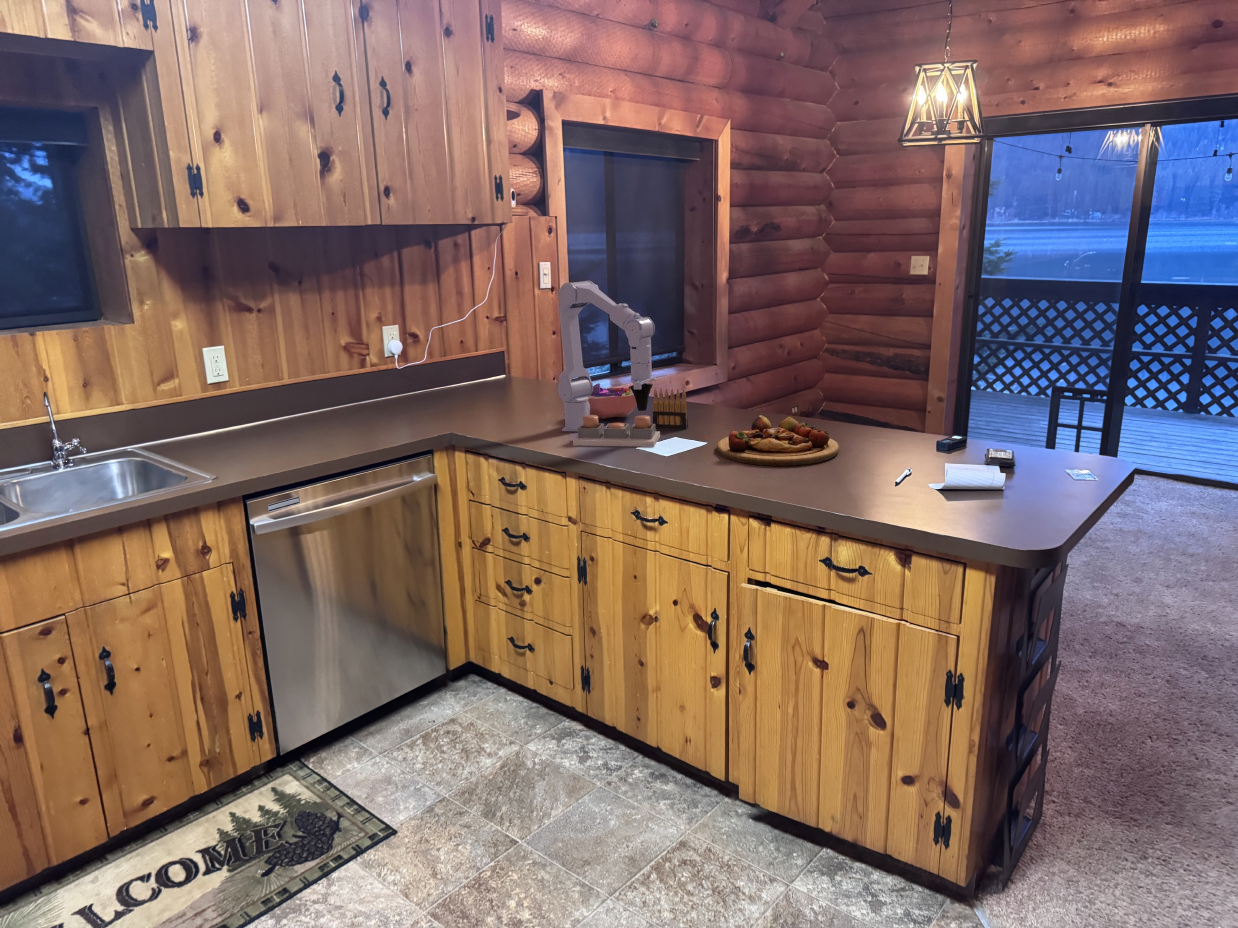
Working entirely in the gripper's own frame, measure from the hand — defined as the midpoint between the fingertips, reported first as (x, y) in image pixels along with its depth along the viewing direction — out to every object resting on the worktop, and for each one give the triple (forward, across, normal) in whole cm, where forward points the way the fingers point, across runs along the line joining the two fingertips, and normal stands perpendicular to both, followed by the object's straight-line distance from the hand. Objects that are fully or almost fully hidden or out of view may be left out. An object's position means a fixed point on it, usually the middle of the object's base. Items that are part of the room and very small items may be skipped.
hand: (642, 410), depth 241 cm
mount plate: (+9, 0, +8) cm, 12 cm away
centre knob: (+7, 0, +8) cm, 10 cm away
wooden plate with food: (+10, -8, -38) cm, 40 cm away
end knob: (+5, 0, +15) cm, 16 cm away
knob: (+5, 0, 0) cm, 5 cm away
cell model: (+9, +30, +16) cm, 35 cm away
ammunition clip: (+9, +17, -6) cm, 20 cm away
